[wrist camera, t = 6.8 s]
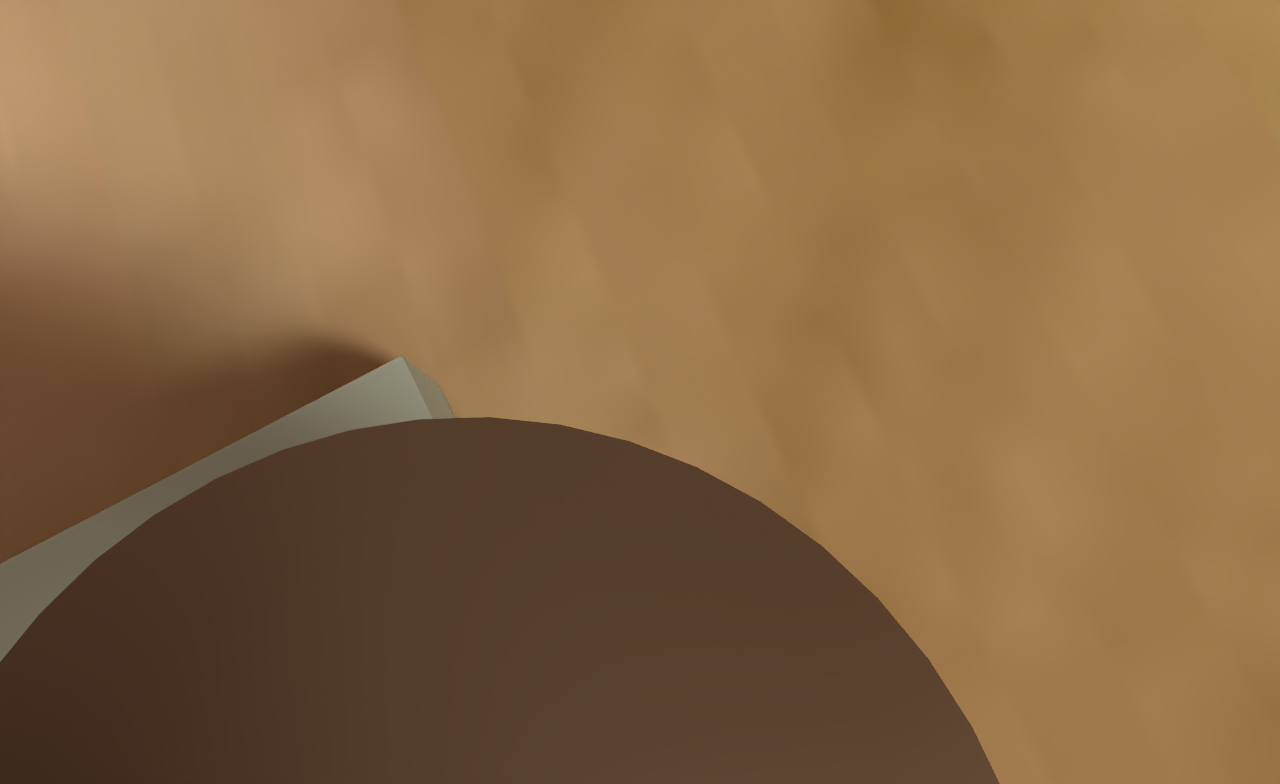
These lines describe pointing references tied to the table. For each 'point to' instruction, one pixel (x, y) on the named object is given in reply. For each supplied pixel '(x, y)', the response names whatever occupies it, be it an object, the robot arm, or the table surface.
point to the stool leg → (473, 631)
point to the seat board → (35, 577)
